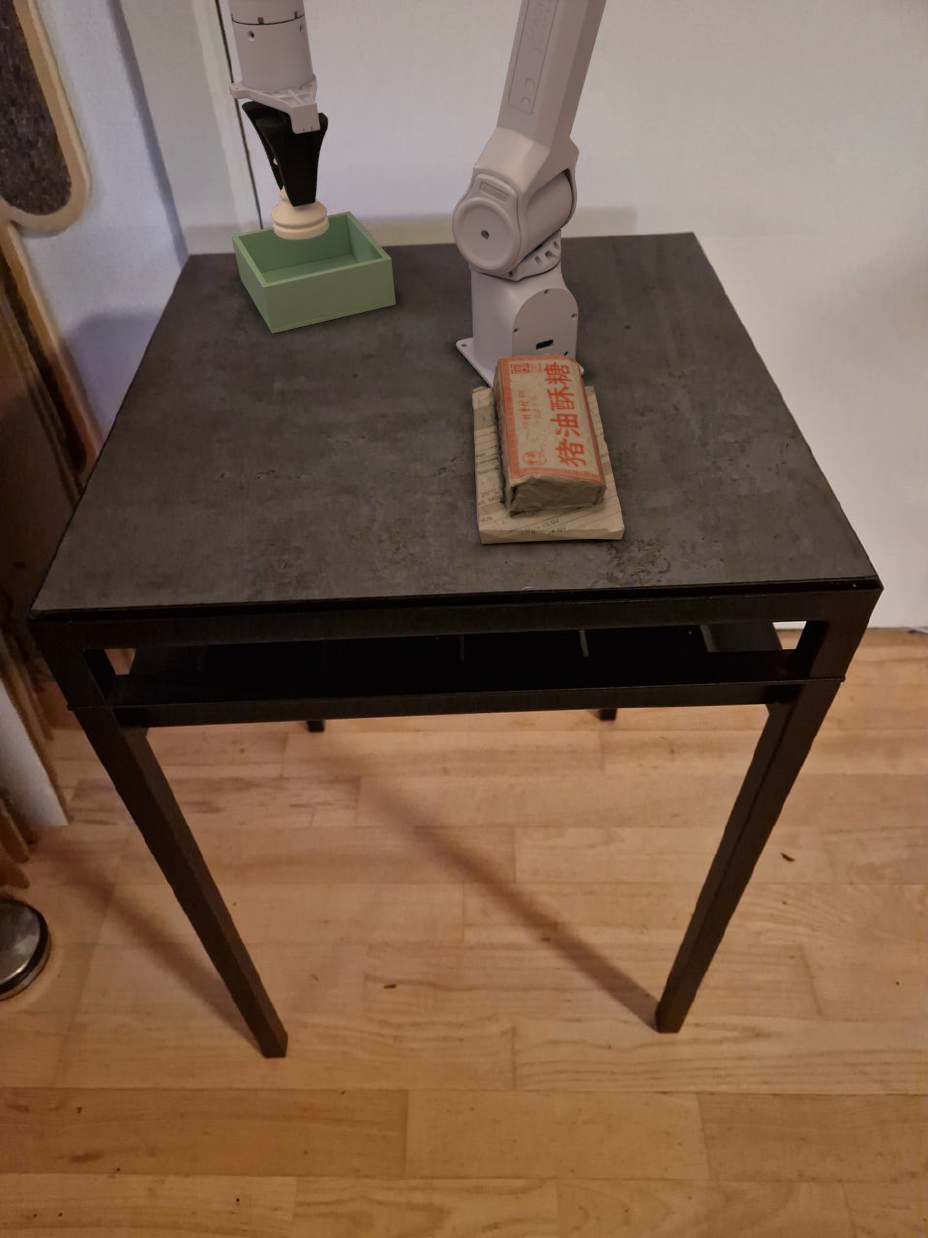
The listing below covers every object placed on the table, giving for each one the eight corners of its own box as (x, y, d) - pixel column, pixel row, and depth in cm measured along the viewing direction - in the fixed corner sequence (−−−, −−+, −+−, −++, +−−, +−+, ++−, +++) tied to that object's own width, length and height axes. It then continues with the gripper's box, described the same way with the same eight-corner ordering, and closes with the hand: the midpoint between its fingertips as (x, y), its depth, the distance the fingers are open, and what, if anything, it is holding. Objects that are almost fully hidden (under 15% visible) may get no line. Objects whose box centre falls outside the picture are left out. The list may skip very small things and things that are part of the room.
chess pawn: (266, 240, 80) (245, 130, 73) (283, 216, 83) (264, 110, 77) (320, 242, 79) (304, 132, 73) (335, 218, 83) (321, 111, 76)
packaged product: (470, 349, 70) (597, 344, 70) (471, 402, 73) (592, 398, 73) (476, 492, 57) (631, 486, 57) (478, 549, 61) (624, 543, 61)
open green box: (395, 304, 85) (391, 258, 82) (272, 333, 82) (262, 286, 79) (355, 254, 93) (349, 210, 90) (240, 279, 90) (230, 234, 87)
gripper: (197, 2, 73) (233, 176, 83) (240, 45, 64) (275, 236, 73) (280, -9, 75) (306, 163, 85) (334, 31, 65) (356, 219, 75)
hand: (297, 196), depth 79 cm, fingers closed on chess pawn, 3 cm apart
